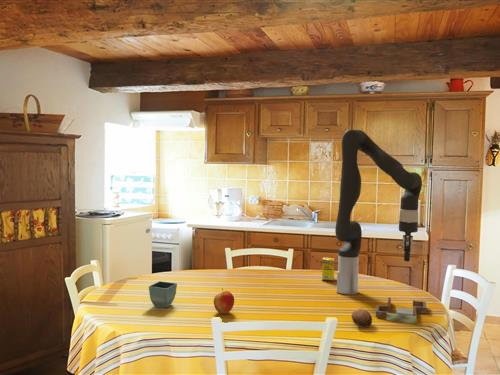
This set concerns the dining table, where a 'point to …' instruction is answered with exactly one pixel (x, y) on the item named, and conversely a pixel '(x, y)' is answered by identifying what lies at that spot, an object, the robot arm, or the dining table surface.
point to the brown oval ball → (361, 318)
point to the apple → (224, 302)
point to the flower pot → (162, 293)
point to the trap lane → (385, 313)
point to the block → (404, 311)
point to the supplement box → (328, 269)
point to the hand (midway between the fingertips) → (406, 260)
